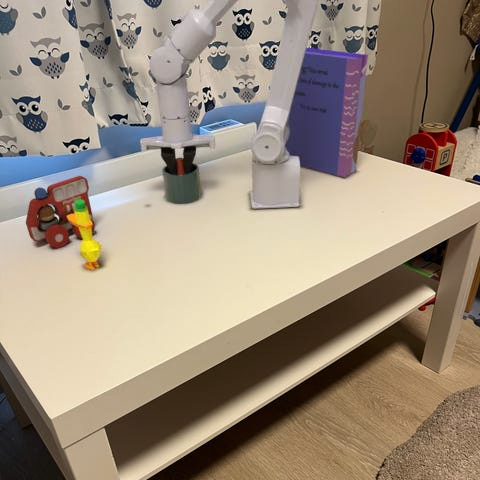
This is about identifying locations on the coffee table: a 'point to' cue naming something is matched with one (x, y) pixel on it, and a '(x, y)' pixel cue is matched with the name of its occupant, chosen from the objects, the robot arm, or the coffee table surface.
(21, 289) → the coffee table surface
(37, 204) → the toy fire truck
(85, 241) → the toy figure
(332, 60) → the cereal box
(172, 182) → the can
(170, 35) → the robot arm
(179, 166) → the red cylinder
